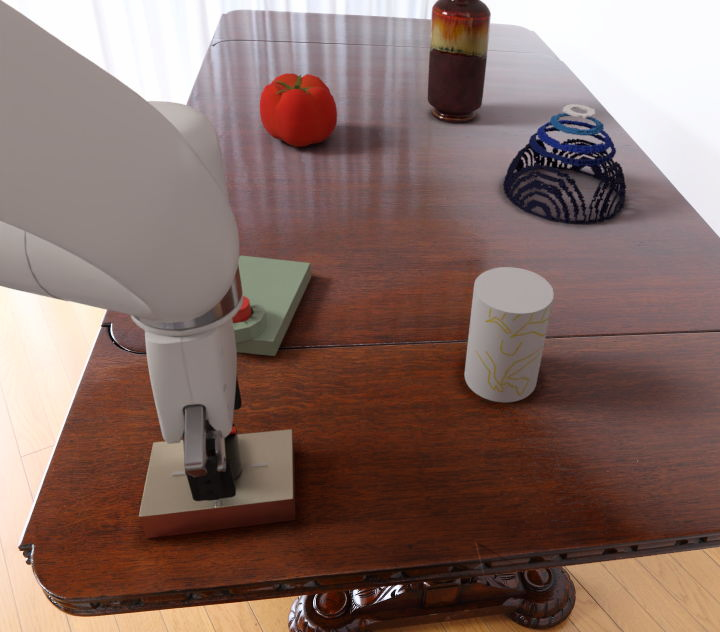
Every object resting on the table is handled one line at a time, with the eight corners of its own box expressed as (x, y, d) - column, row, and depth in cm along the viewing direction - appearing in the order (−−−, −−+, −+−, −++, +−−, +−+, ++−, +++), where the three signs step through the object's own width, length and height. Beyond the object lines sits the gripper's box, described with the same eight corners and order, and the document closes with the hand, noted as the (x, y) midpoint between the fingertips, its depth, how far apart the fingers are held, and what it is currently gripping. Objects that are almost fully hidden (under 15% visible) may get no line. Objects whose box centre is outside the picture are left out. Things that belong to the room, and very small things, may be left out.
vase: (418, 107, 140) (424, -33, 124) (467, 103, 144) (479, -33, 128) (438, 127, 132) (448, -19, 116) (489, 123, 136) (505, -19, 121)
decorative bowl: (537, 157, 125) (549, 78, 116) (639, 190, 118) (660, 109, 109) (482, 196, 111) (491, 109, 102) (594, 236, 103) (615, 147, 95)
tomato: (271, 122, 127) (265, 65, 120) (342, 127, 128) (341, 71, 122) (254, 152, 116) (247, 91, 110) (332, 157, 117) (330, 97, 111)
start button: (246, 325, 74) (244, 312, 73) (218, 322, 74) (216, 309, 73) (254, 308, 76) (253, 296, 75) (228, 306, 76) (226, 293, 75)
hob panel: (146, 539, 56) (138, 515, 54) (159, 464, 62) (152, 441, 60) (295, 520, 59) (292, 497, 57) (294, 450, 65) (292, 427, 63)
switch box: (272, 362, 75) (269, 333, 72) (191, 353, 75) (184, 324, 72) (311, 277, 88) (309, 250, 86) (242, 269, 88) (238, 243, 86)
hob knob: (196, 488, 57) (187, 449, 54) (200, 455, 60) (192, 417, 57) (241, 483, 58) (234, 444, 55) (243, 451, 61) (237, 413, 58)
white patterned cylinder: (472, 405, 72) (483, 315, 65) (458, 355, 78) (466, 268, 71) (545, 399, 74) (563, 311, 67) (525, 351, 80) (541, 265, 73)
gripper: (145, 224, 53) (183, 383, 64) (100, 375, 40) (158, 544, 50) (245, 221, 55) (267, 376, 65) (234, 365, 42) (263, 530, 52)
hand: (219, 449), depth 58 cm, fingers open, 9 cm apart
